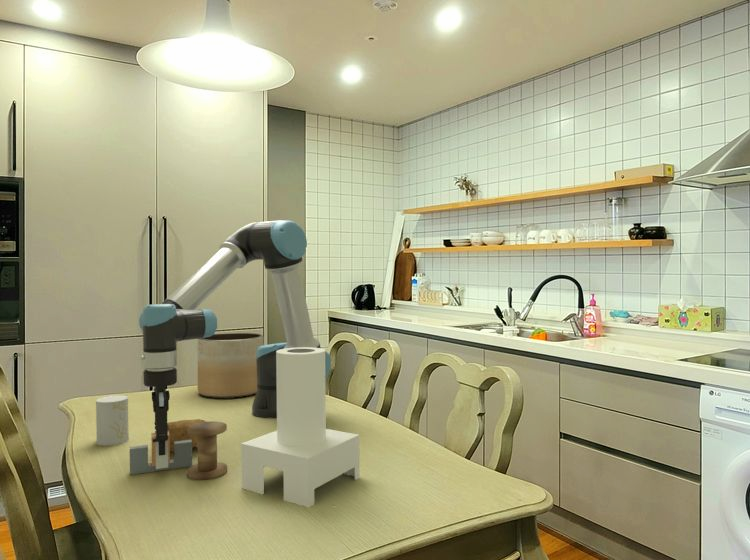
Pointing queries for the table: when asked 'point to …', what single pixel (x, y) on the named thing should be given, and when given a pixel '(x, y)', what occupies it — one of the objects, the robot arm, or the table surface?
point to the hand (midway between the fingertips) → (161, 461)
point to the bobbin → (207, 450)
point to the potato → (181, 432)
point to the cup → (112, 420)
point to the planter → (228, 364)
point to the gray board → (142, 466)
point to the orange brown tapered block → (153, 436)
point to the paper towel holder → (300, 432)
